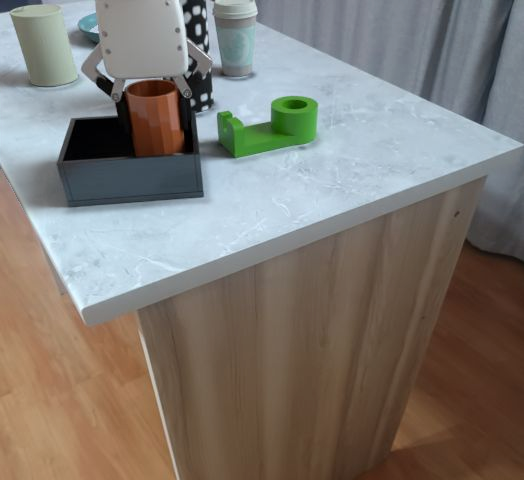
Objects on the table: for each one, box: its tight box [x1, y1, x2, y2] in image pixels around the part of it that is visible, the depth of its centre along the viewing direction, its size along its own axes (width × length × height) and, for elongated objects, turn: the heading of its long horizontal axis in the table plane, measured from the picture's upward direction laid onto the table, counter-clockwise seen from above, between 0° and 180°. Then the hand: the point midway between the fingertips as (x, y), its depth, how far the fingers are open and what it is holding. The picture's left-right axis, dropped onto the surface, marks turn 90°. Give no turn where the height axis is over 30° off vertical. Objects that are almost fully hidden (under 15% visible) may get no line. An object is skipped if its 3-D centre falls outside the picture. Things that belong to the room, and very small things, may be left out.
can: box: [9, 3, 79, 88], centre depth 97 cm, size 9×9×12 cm
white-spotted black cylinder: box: [162, 0, 215, 113], centre depth 84 cm, size 8×8×20 cm
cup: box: [123, 78, 186, 156], centre depth 69 cm, size 7×7×9 cm
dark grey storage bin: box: [55, 110, 205, 208], centre depth 70 cm, size 17×14×6 cm
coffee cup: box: [211, 0, 259, 77], centre depth 99 cm, size 8×8×12 cm
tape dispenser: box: [216, 95, 319, 159], centre depth 79 cm, size 15×7×5 cm, turn 116°
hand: (157, 126), depth 69 cm, fingers closed on cup, 6 cm apart
